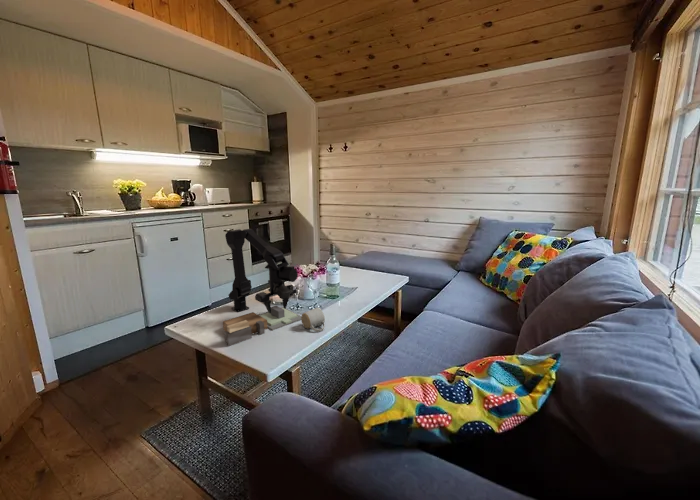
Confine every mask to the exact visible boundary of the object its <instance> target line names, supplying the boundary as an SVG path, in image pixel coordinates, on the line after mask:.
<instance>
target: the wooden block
mask: <svg viewBox="0 0 700 500" xmlns="http://www.w3.org/2000/svg"><path fill="white" fill-rule="evenodd" d="M247 327H249V322H248V321H247V320H245V321H242V322H238V323H235V324H232V325H229V326H227V331H228V332H229V333H232V332H235V331H238V330H241V329H244V328H247Z"/></svg>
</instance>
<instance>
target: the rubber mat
mask: <svg viewBox="0 0 700 500" xmlns="http://www.w3.org/2000/svg"><path fill="white" fill-rule="evenodd" d="M280 308H284V307H283V306H281V307H280ZM286 310H288V311H291V312H293V311H292V310H290V309H288V308H286ZM266 313H269V312H268V311H265V312H263V313H260V314H258V315H263V314H266ZM293 313H295V314H297V315H298V317H295V318H292V319H290V320H291V321H292V322H291V323H288V324H285V323H283V322H281V323H278V324H275V325H272V326H271V325H269V324H267V329H269V330H271V331H275V330H278V329H280V328H283V327H285V326H288V325H291V324H294V323H297V322H299V321H301V316H302V315H300V314H298V313H296V312H293Z"/></svg>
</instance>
